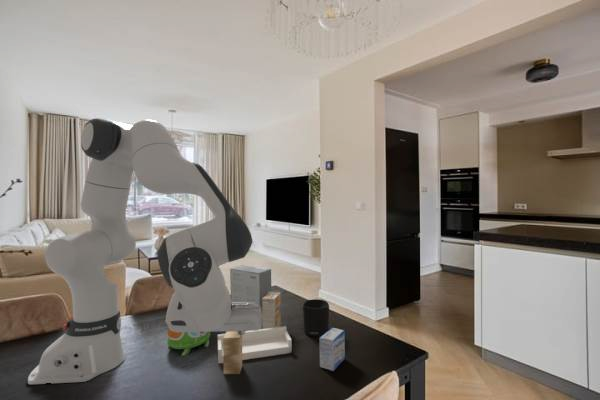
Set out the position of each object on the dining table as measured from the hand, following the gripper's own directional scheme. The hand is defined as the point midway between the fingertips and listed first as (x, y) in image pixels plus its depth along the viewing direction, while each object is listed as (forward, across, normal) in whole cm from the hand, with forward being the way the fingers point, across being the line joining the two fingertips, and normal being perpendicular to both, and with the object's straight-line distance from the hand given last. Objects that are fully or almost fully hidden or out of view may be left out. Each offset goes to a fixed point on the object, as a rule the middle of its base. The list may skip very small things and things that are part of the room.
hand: (222, 332), depth 74 cm
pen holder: (+37, -24, -14) cm, 47 cm away
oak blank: (+20, 0, +3) cm, 20 cm away
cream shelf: (+27, -4, -4) cm, 28 cm away
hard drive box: (+45, 0, -22) cm, 51 cm away
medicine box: (+22, -28, +1) cm, 36 cm away
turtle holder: (+31, +17, -8) cm, 37 cm away
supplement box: (+38, -9, -14) cm, 41 cm away
